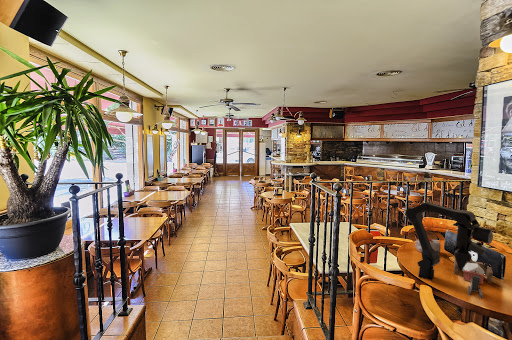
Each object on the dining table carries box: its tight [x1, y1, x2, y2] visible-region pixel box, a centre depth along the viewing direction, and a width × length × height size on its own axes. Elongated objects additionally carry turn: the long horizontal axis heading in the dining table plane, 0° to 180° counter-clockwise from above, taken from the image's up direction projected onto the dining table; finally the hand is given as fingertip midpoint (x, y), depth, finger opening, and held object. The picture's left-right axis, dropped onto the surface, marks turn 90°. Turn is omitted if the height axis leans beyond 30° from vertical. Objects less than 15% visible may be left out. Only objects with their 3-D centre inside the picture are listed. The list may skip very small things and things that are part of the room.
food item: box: [414, 237, 441, 255], centre depth 178 cm, size 14×8×10 cm, turn 85°
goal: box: [453, 258, 494, 284], centre depth 149 cm, size 16×12×6 cm
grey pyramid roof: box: [461, 263, 485, 275], centre depth 145 cm, size 8×9×10 cm
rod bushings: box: [467, 285, 483, 299], centre depth 131 cm, size 5×6×2 cm
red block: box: [462, 270, 484, 293], centre depth 136 cm, size 8×14×8 cm, turn 144°
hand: (460, 266), depth 132 cm, fingers open, 9 cm apart
